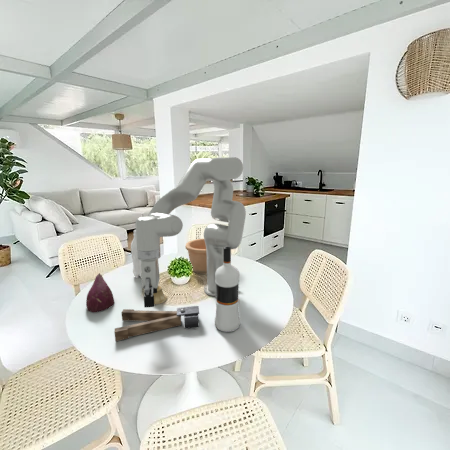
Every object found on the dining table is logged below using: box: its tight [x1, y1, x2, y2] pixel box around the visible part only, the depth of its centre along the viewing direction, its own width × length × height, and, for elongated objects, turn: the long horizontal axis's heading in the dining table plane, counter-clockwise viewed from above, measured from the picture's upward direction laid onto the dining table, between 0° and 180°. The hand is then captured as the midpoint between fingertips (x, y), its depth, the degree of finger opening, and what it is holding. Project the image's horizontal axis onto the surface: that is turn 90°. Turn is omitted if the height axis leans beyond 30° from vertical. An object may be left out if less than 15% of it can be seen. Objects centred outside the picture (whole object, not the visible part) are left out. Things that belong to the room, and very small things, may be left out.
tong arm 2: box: [121, 308, 177, 322], centre depth 95 cm, size 22×2×4 cm, turn 87°
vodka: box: [214, 246, 241, 333], centre depth 89 cm, size 9×9×30 cm
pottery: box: [185, 238, 207, 275], centre depth 142 cm, size 22×22×14 cm
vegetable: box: [85, 273, 115, 314], centre depth 105 cm, size 10×10×15 cm
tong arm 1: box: [113, 315, 182, 342], centre depth 88 cm, size 22×2×4 cm, turn 111°
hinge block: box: [176, 305, 200, 330], centre depth 93 cm, size 8×7×6 cm
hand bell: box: [153, 285, 168, 305], centre depth 108 cm, size 8×8×16 cm
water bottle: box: [130, 229, 142, 279], centre depth 130 cm, size 7×7×25 cm
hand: (151, 299), depth 89 cm, fingers open, 9 cm apart
